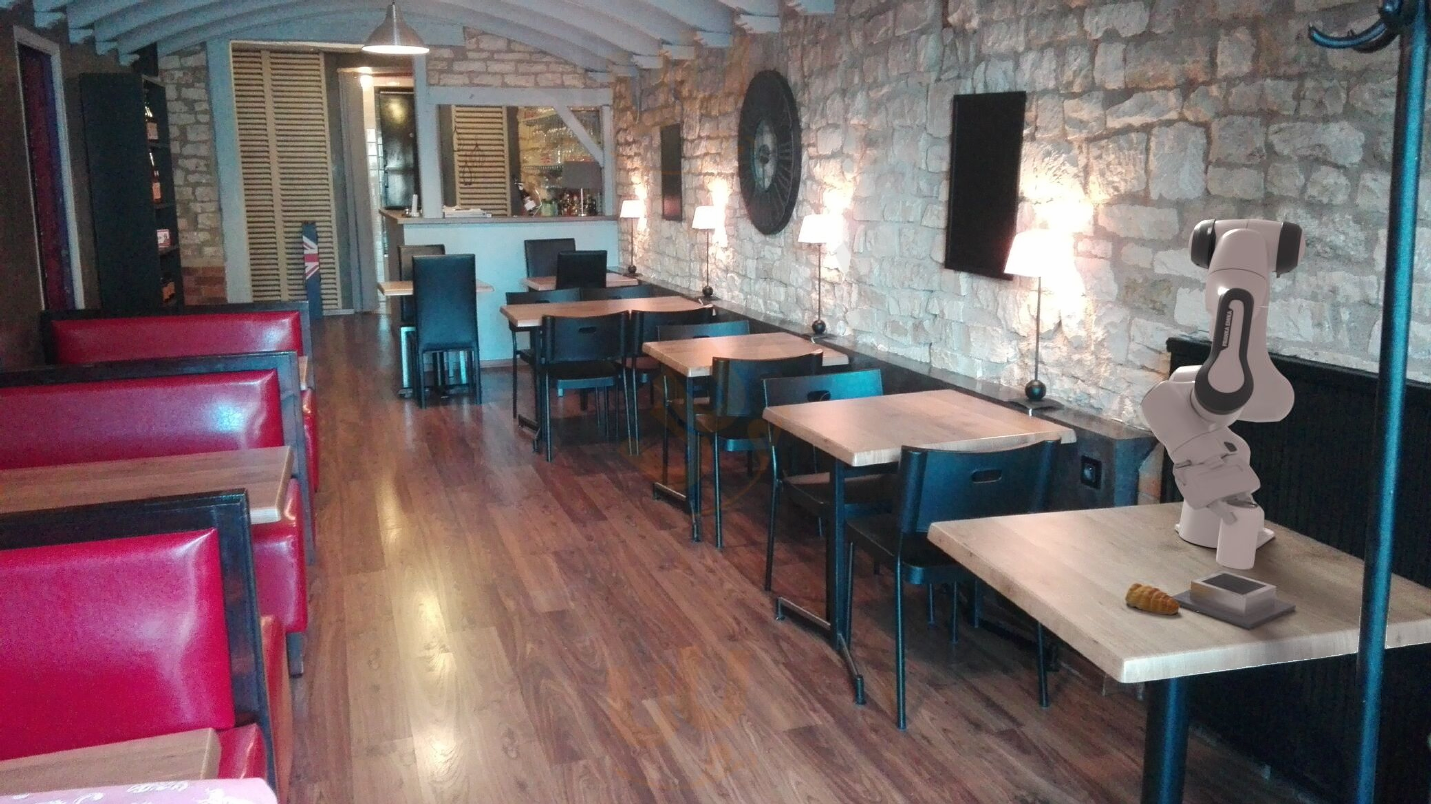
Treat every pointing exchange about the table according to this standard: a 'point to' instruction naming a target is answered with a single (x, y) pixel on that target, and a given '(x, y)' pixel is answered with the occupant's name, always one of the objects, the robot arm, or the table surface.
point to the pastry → (1151, 599)
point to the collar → (1234, 599)
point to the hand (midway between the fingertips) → (1243, 519)
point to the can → (1239, 536)
